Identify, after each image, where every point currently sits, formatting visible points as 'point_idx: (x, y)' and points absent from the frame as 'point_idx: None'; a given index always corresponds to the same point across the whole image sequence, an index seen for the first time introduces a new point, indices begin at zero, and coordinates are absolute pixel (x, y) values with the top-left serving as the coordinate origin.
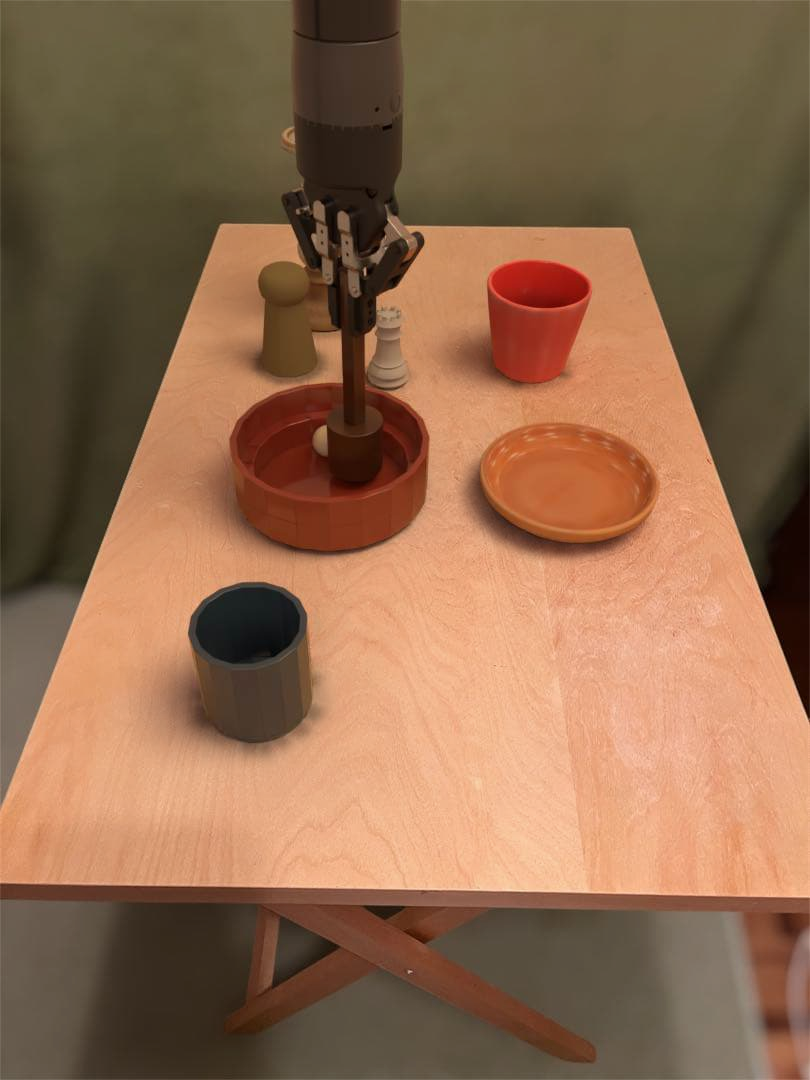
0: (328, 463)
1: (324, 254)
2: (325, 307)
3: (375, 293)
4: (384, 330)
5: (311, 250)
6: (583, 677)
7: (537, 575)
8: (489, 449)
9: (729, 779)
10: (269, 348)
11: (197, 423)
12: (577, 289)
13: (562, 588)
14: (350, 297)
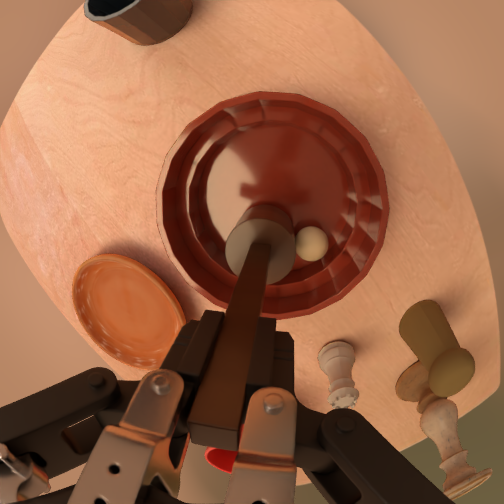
0: (283, 212)
1: (252, 468)
2: (420, 380)
3: (82, 374)
4: (341, 386)
5: (345, 458)
6: (44, 179)
7: (94, 229)
8: (177, 315)
9: (4, 182)
10: (437, 315)
11: (440, 203)
12: (232, 463)
13: (81, 229)
14: (188, 370)
